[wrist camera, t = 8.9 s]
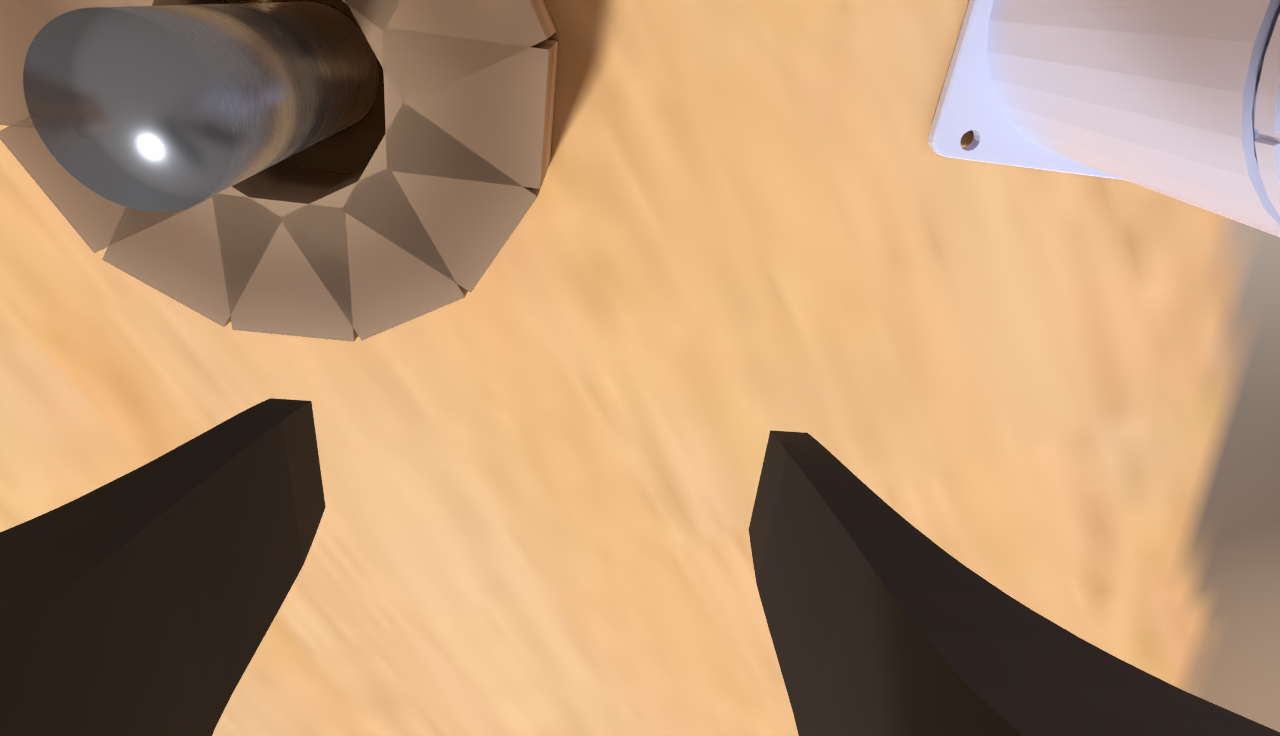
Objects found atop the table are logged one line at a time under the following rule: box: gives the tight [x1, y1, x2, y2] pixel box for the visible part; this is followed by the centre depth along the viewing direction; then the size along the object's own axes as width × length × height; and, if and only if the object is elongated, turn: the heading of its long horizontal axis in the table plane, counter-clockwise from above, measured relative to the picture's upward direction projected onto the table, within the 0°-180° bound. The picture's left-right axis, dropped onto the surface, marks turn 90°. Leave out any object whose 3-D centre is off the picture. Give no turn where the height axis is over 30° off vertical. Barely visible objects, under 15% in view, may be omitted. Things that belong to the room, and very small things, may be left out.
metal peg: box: [23, 2, 379, 212], centre depth 14 cm, size 3×3×8 cm
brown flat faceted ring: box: [0, 0, 558, 342], centre depth 17 cm, size 12×12×3 cm
